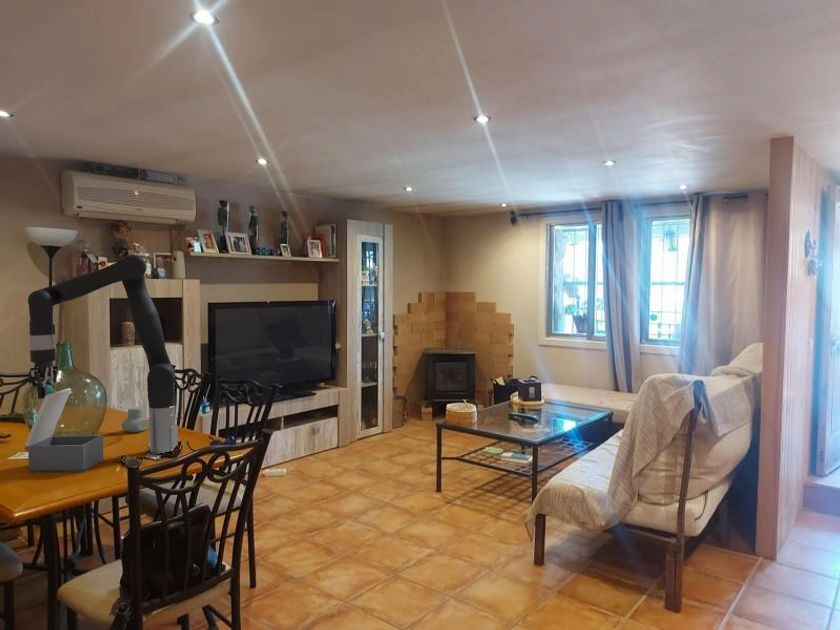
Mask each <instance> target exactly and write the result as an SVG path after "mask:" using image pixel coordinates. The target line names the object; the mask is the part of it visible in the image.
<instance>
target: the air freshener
mask: <svg viewBox="0 0 840 630" xmlns="http://www.w3.org/2000/svg"><path fill="white" fill-rule="evenodd" d="M121 427H122V429H123V430H124V431H125V432H128V433H142V432H144V431H145V430H147V429H149V418H147V417H144V408H143V407H142V406H136V407H135V406H134V407H129V408H128V409H127V418H126V419H125V420H123V421H122V423H121Z"/></svg>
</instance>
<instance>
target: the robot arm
mask: <svg viewBox="0 0 840 630" xmlns="http://www.w3.org/2000/svg"><path fill="white" fill-rule="evenodd" d="M147 266H148V265H147V263H146V261H145V259H144V258H143V257H141V256H140V255H136V254H128V255H125V256H124V257H122V258H121V259H119V260H118V261H116V262H114V263H112V264H110V265H107V266H105V267H103V268H100V269H98V270H94V271H91V272H88V273H84V274H80V275H77V276H73V277H72V278H69V279H65V280H62V281H60V282H58V283H57V284H54V285H51V286H47V287H43V288H40V289H37V290H34V291H31V293H30V294H29V295H28V298H27V304H28V311H29V312H28V313H29V325H28V327H29V342H28V343H29V357H30V358H29V359H30V360H29V361H30V363H33V364H34V366H33V369H32V370H29V371H28V375H29V379H30V382H31V385H32V387H33V388H36V389H37V398H38V399H43V400H44V398H45V396H46V395H45V388H44V387H45V385H50V386H52V387H53V385H54V384H55V383H57V377H58V370H59V366H58V365H54V364H53V362H55V361H56V360H57V354H56V353H57V352H56V340H55V331H54V321H53V320H54V319H53V307H54V306H57V305H59V304H61V303H64V302H69V301H73V300H76V299H78V298H81V297H84V296H85V295H88V294H92V293H94V292H96V291H97V290H100V289H102V288H105V287H107V286H110V285H112V284H115V283H119V282H121V284H122V285H123V288H124V290H125V293H126V297H127V301H128V303H127V304H128V309H129V312H130V316H131V321H132V325H133V328H134V332H135V334H136V337H137V338H138V341H139V343H140V345H141V347H142V349H143V350H144V353H145V356H146V359H147V365H148V373H147V378H146V381H147V383H146V386H147V387H146V390H147V401H148V402H147V403H148V420H149V426H148V430H149V436H148V437H149V453H150V454H153V455H159V454H160V453H163V454H166V453H165V452H168V451H173V450H174V448H175V447H176V446H177V445H178V446H179V444H178V443H179V436H178V434H179V432H178V431H179V430H178V429H179V428H178V424H177V423H176V397H175V378H176V371H175V369H174V366H173V364H172V363H171V362H172V361H171V360H170V356H169V355H168V351H167V348H166V343H165V337H164V332H163V328H162V327H163V326H162V323H161V320H160V316H159V312H158V310H157V308H156V305H155V303H154V301H153V300H152V298H151V296H150V294H149V292H148V289H147V284H146V279H145V274H146V271H147ZM160 455H161V454H160Z"/></svg>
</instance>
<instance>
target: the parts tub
mask: <svg viewBox="0 0 840 630" xmlns="http://www.w3.org/2000/svg"><path fill="white" fill-rule="evenodd" d="M27 452H28V453H27V454H28V474H30V473H31V474H33V473H34V474H38V473H37V472H47V473H84V472H86V471H88V470H90V469H91V468H93V467H95V466H96V465H97V464H99V463H101V462H103V461H104V456H105V455H104V435H100V434H99V435H52V436H50V437H48V438H46V439H43V440H41V441H39V442H37V443H34V444H32V445H30V446H27Z"/></svg>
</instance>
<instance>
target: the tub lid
mask: <svg viewBox="0 0 840 630" xmlns="http://www.w3.org/2000/svg"><path fill="white" fill-rule="evenodd" d="M44 388H45V395H46V396H45V398H43V400H42V404H41V406H40V408H39V411H38V413H37V415H36V417H35V419H34V423H33V425H32V427H31V429H30V432H29V435H28V437H27V439H26V442H25V444H24V446H25V447H28V446H30V445H32V444H35V443H37V442H39V441H42V440H44V439H46V438H48V437H51V436H53V434H54V431H55V429H56V427H57V425H58V423H59V420H60V417H61V415H62V413H63V411H64V408H65V406H66V404H67V401H68V399H69V396H70V394H71V391H72V388H70V387H68V388H64V389H61V390H59V391H56V390H54V387H53V385H52V386H50V385H45V387H44Z"/></svg>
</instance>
